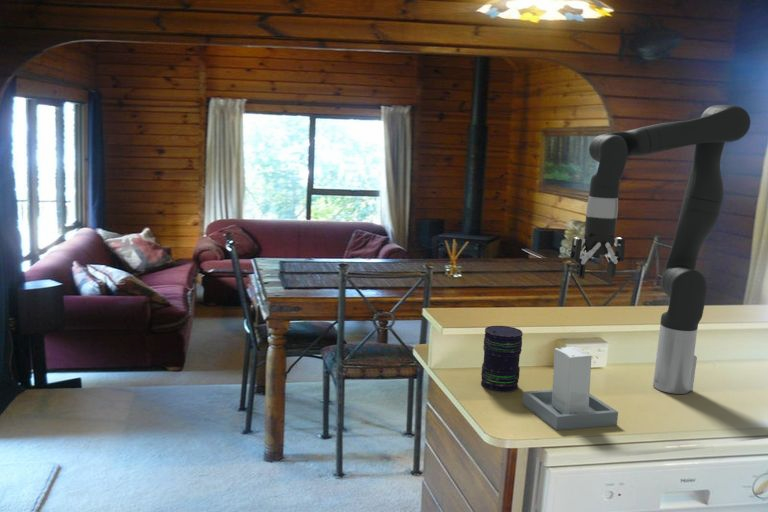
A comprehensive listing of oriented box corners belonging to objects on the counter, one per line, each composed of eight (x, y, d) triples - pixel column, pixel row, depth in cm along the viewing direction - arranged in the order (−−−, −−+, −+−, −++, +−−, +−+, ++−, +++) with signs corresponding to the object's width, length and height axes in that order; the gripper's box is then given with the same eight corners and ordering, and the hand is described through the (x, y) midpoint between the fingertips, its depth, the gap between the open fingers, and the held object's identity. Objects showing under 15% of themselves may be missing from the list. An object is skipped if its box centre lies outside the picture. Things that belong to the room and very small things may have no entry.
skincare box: (588, 417, 174) (594, 356, 172) (565, 418, 173) (571, 357, 170) (571, 403, 182) (576, 345, 180) (548, 404, 181) (554, 346, 178)
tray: (579, 399, 188) (580, 387, 187) (616, 424, 173) (618, 411, 172) (522, 403, 183) (523, 391, 182) (556, 430, 168) (557, 416, 167)
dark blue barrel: (507, 378, 201) (511, 324, 198) (525, 391, 192) (530, 335, 189) (474, 380, 198) (478, 326, 195) (490, 393, 189) (495, 337, 186)
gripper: (617, 213, 192) (610, 274, 195) (568, 212, 188) (562, 275, 191) (634, 217, 185) (627, 280, 188) (585, 216, 181) (578, 281, 184)
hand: (595, 278), depth 189 cm, fingers open, 8 cm apart
